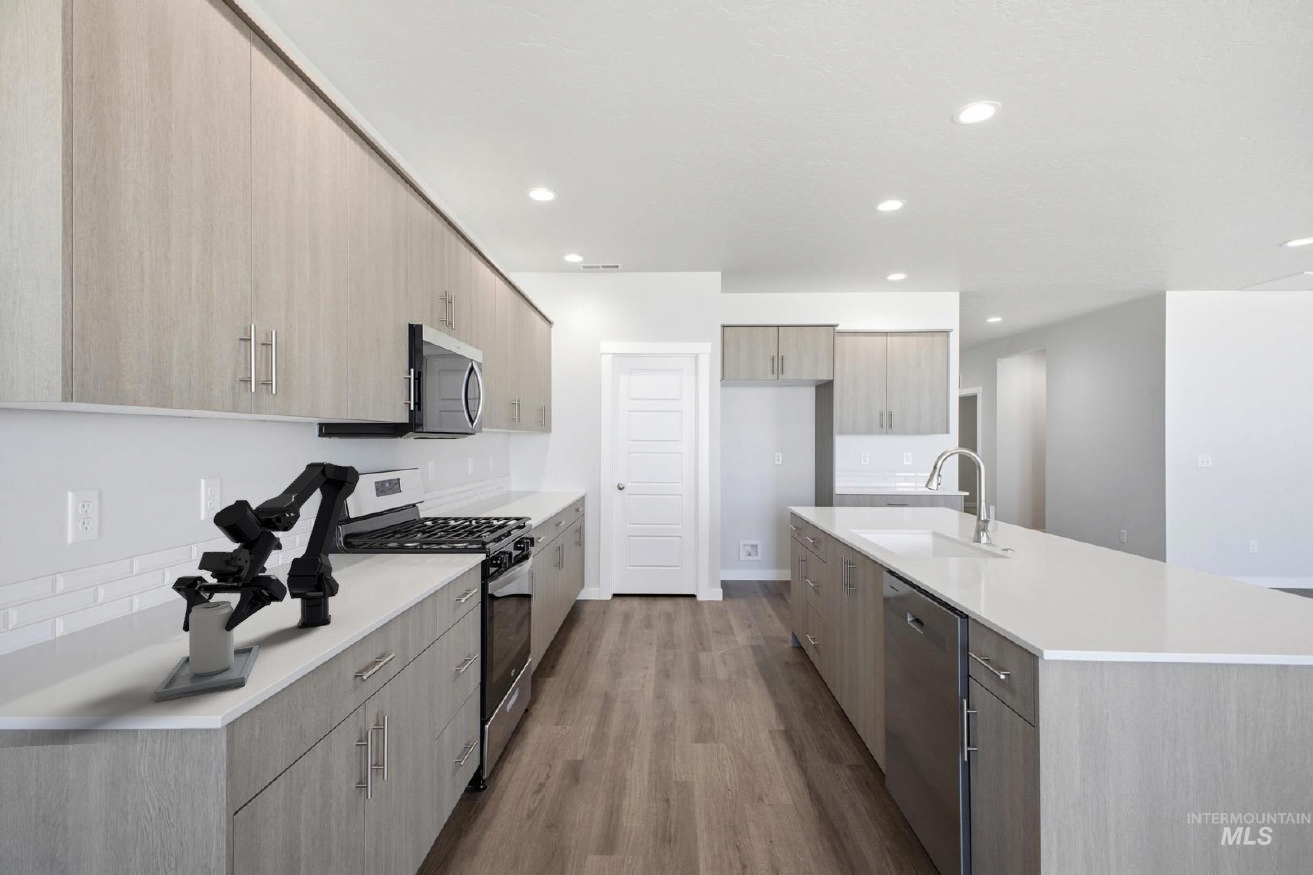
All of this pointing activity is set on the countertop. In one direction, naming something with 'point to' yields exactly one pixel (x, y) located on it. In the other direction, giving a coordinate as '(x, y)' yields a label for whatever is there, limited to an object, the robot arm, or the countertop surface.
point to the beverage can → (210, 638)
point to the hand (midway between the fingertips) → (205, 630)
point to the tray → (207, 677)
